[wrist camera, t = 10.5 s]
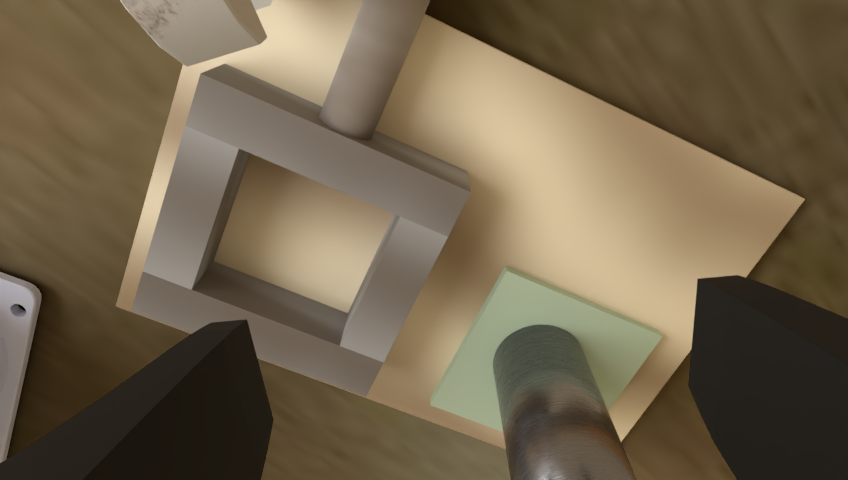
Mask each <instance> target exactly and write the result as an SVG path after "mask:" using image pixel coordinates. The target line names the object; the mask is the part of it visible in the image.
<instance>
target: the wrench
mask: <svg viewBox="0 0 848 480" xmlns="http://www.w3.org/2000/svg"><path fill="white" fill-rule="evenodd" d="M120 1H121V3H122V4H123V6H124V7H125V9H126V10H127V11H128V12H129V13H130V14H131V15H132V16H133V18H134V19H135V20H136V21H137V22H138V23H139V24H140V25H141V27H142V28H143V29H144V30H145V31H146V32H147V33H148V34H149V36H150V37H151V38H152V39H153V40H154V41H155V42H156V43H157V45H158V46H159V47H161V48H162V49H163V50H165V51H166V52H167V53H169V54H170V55H171V56H173V57H174V58H176V59H177V60H178V61H180V62H181V63H182V64H184V65H185V66H187V67H188V66H191V65H195V64H198V63H201V62H204V61H208V60H211V59H214V58H217V57H221V56H224V55H227V54H230V53H234V52H237V51H240V50H243V49H247V48H250V47H253V46H256V45H259V44H261V43H262V42H263V41H265V40H266V38H267V35H266V33H265V30H264V28H263V26H262V24H261V22H260V19H259V17H258V15H257V13H256V10H258V9H261V8H264V7H267V6H270V5H271V3H272V1H273V0H120Z"/></svg>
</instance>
